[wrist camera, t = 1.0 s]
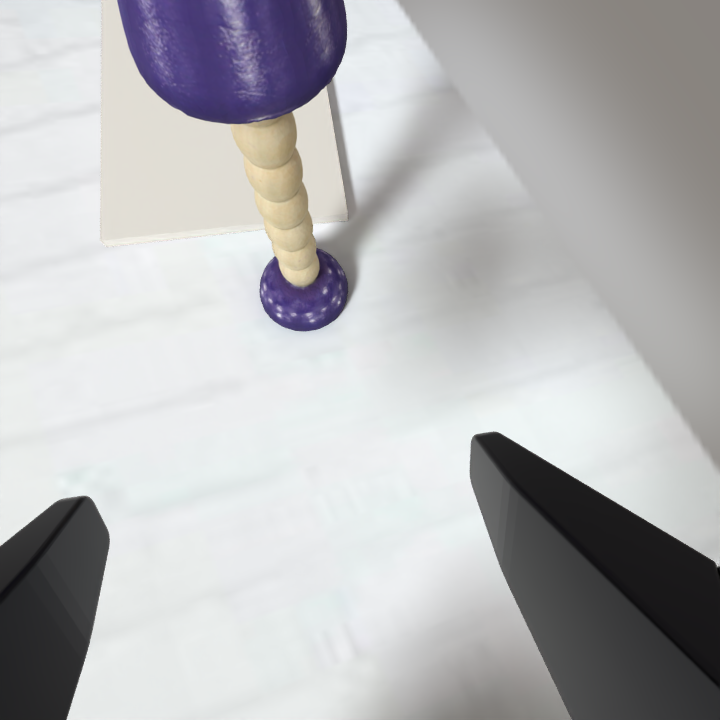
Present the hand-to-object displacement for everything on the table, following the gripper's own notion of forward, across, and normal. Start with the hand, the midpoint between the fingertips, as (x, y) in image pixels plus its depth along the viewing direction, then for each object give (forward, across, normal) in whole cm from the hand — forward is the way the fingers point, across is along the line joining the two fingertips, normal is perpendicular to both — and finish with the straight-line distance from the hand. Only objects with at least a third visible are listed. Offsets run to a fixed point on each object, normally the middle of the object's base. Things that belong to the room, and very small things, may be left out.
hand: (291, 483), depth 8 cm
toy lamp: (+16, 0, +2) cm, 16 cm away
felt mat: (+24, +3, -6) cm, 25 cm away
